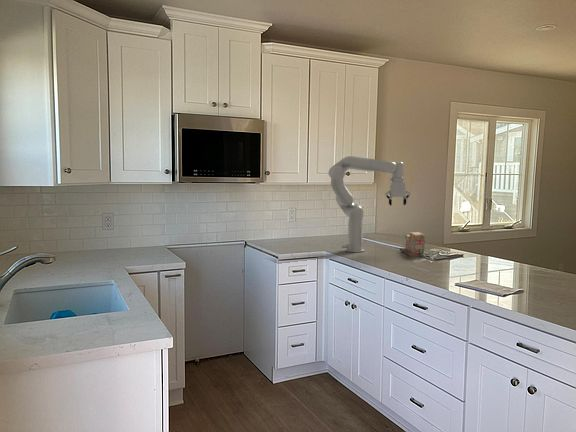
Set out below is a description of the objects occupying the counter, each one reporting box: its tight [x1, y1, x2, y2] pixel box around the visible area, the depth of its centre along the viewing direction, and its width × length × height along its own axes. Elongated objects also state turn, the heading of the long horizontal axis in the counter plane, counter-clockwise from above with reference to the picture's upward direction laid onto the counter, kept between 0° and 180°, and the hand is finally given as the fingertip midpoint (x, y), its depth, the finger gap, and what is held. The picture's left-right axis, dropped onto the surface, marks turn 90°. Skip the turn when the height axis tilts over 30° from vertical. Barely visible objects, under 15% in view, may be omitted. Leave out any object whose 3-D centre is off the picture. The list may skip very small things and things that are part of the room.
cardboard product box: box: [404, 231, 426, 254], centre depth 304 cm, size 21×6×12 cm, turn 2°
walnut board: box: [400, 247, 425, 258], centre depth 304 cm, size 12×27×1 cm, turn 2°
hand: (397, 205), depth 318 cm, fingers open, 9 cm apart
